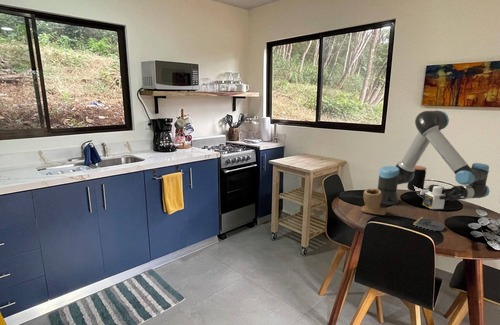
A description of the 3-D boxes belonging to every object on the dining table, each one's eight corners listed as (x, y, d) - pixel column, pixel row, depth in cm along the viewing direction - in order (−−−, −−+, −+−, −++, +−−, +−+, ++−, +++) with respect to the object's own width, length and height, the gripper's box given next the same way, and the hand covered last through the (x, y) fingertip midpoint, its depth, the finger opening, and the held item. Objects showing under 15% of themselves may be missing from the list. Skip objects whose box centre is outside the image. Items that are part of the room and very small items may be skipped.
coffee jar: (425, 192, 214) (428, 169, 210) (409, 191, 216) (413, 168, 212) (419, 188, 224) (423, 165, 220) (405, 187, 227) (408, 165, 222)
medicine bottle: (422, 204, 159) (425, 183, 157) (434, 204, 160) (437, 183, 157) (431, 209, 153) (434, 187, 150) (443, 208, 153) (447, 187, 151)
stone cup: (359, 214, 174) (361, 190, 170) (361, 207, 184) (364, 185, 180) (386, 219, 167) (390, 194, 163) (387, 212, 177) (390, 189, 174)
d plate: (447, 226, 158) (447, 223, 158) (440, 233, 150) (440, 231, 149) (421, 219, 168) (421, 216, 167) (413, 225, 159) (413, 222, 159)
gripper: (478, 205, 150) (442, 208, 145) (444, 192, 169) (411, 195, 164) (481, 191, 148) (444, 194, 143) (446, 180, 168) (413, 182, 163)
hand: (427, 195), depth 154 cm, fingers closed on medicine bottle, 8 cm apart
